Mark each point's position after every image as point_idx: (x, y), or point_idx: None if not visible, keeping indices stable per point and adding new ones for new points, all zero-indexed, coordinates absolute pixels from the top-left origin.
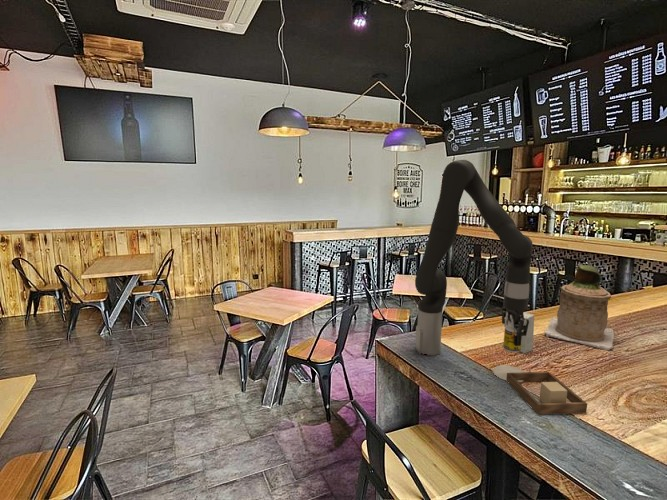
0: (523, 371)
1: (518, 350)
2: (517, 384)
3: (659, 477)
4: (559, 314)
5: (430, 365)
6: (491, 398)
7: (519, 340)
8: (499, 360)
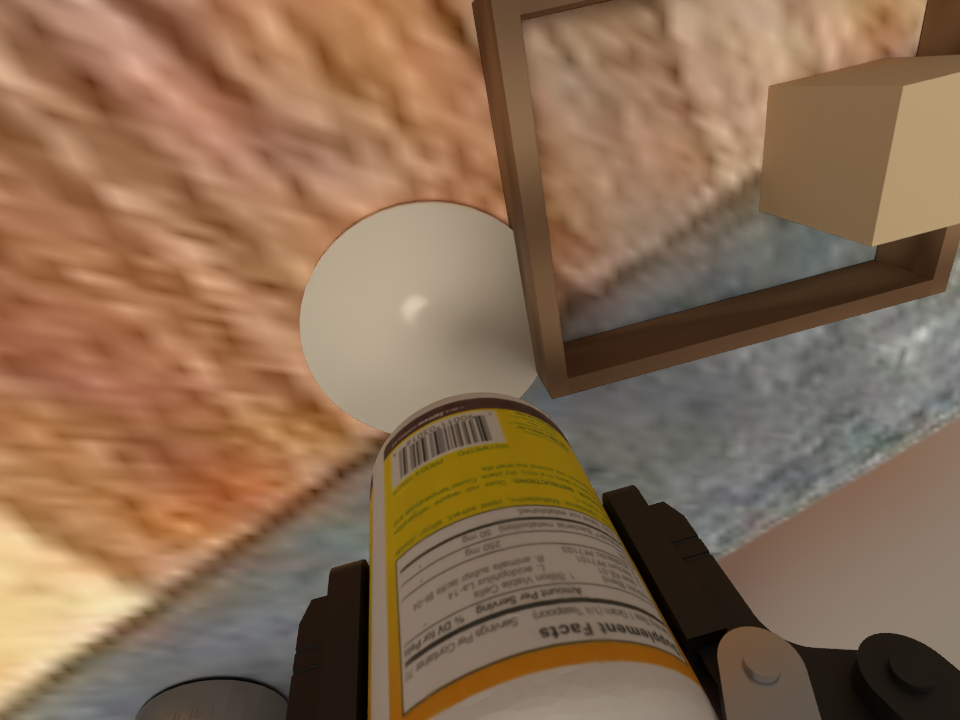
0: (382, 216)
1: (562, 435)
2: (698, 355)
3: None
4: None
5: None
6: (716, 460)
7: (708, 577)
8: (181, 360)
